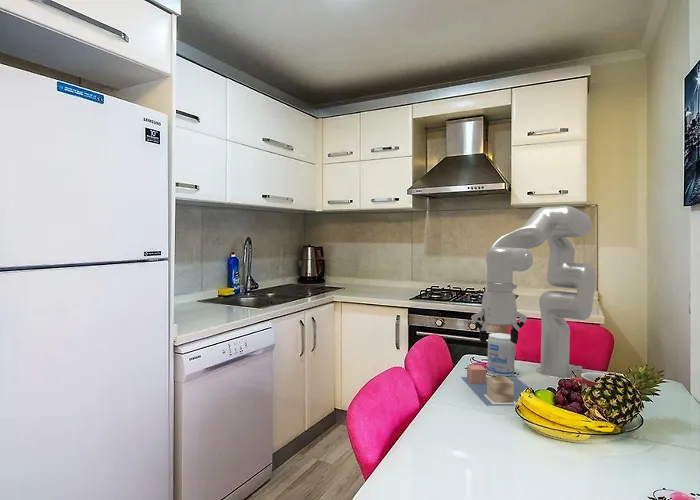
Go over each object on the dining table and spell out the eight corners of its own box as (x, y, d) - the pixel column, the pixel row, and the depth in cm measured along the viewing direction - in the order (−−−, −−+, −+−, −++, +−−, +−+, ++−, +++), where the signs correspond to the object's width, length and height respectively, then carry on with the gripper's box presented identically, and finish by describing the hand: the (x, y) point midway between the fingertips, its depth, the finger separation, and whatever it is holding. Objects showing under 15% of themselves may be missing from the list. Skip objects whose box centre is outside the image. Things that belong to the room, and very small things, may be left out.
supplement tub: (486, 376, 154) (487, 337, 154) (487, 369, 163) (488, 331, 163) (514, 380, 151) (515, 339, 151) (514, 372, 160) (514, 334, 160)
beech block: (505, 395, 133) (505, 376, 133) (513, 402, 127) (513, 383, 127) (486, 395, 133) (487, 376, 132) (493, 402, 127) (494, 383, 126)
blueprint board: (515, 379, 151) (515, 376, 151) (552, 408, 125) (552, 405, 125) (460, 379, 150) (460, 376, 150) (486, 408, 124) (486, 405, 124)
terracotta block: (480, 379, 148) (481, 365, 148) (485, 384, 143) (486, 369, 143) (466, 379, 148) (467, 365, 148) (471, 384, 143) (471, 369, 143)
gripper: (521, 286, 135) (520, 339, 135) (468, 286, 134) (467, 340, 134) (532, 289, 127) (531, 345, 128) (476, 289, 126) (475, 346, 127)
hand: (498, 342), depth 131 cm, fingers open, 9 cm apart
